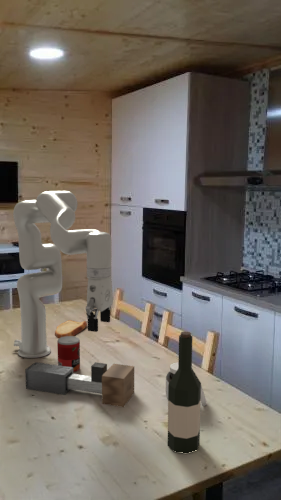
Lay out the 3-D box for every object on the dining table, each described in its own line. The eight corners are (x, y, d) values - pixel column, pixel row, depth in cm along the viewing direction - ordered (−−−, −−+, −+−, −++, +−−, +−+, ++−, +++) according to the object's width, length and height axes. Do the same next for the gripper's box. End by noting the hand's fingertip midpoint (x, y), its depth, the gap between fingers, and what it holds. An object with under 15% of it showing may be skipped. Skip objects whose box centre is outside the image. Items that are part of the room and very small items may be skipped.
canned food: (76, 374, 165) (75, 343, 163) (54, 372, 166) (53, 342, 165) (83, 365, 172) (82, 336, 171) (62, 363, 174) (61, 335, 172)
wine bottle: (165, 436, 125) (166, 328, 120) (196, 435, 126) (198, 327, 121) (169, 454, 117) (171, 339, 112) (202, 453, 117) (206, 338, 113)
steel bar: (54, 386, 151) (53, 361, 150) (59, 382, 155) (58, 357, 153) (113, 396, 145) (113, 369, 144) (117, 390, 148) (117, 364, 147)
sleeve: (25, 388, 153) (25, 369, 152) (36, 380, 159) (35, 362, 158) (64, 394, 149) (64, 375, 148) (73, 386, 155) (73, 367, 154)
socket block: (102, 403, 143) (101, 375, 142) (113, 389, 152) (113, 363, 151) (123, 407, 141) (123, 378, 140) (134, 393, 150) (134, 366, 149)
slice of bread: (60, 341, 199) (60, 332, 199) (45, 329, 214) (45, 321, 214) (98, 334, 208) (98, 325, 208) (82, 323, 224) (81, 315, 223)
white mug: (162, 397, 147) (162, 362, 146) (193, 391, 152) (194, 357, 150) (180, 415, 136) (180, 377, 135) (213, 408, 141) (214, 371, 139)
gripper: (99, 279, 134) (99, 336, 137) (120, 268, 151) (120, 319, 153) (75, 277, 137) (76, 333, 139) (98, 266, 153) (99, 317, 156)
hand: (99, 326), depth 146 cm, fingers open, 9 cm apart
